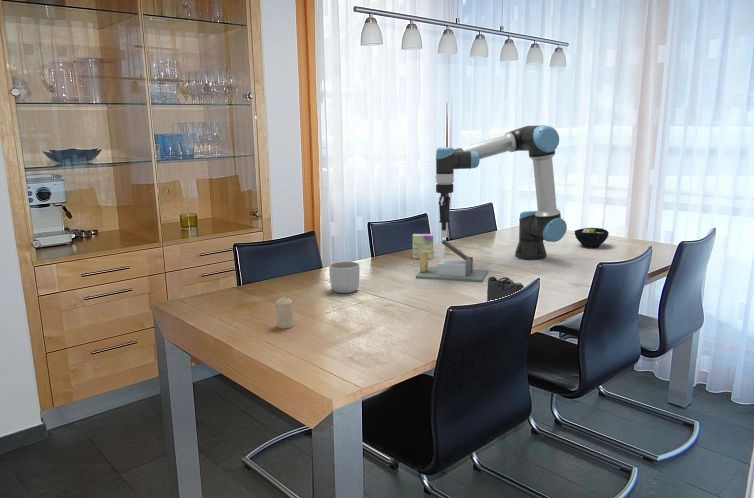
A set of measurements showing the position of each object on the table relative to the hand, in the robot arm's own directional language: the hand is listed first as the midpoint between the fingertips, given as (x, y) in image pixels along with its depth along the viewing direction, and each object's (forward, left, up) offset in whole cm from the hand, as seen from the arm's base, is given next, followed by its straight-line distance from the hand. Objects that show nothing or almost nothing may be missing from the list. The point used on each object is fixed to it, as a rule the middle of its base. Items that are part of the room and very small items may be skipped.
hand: (444, 237), depth 258 cm
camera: (-32, +35, -18) cm, 51 cm away
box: (+18, -32, -17) cm, 41 cm away
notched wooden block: (+8, 0, -16) cm, 18 cm away
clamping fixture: (-4, 0, -17) cm, 18 cm away
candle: (+38, +81, -17) cm, 91 cm away
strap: (-5, 0, -7) cm, 8 cm away
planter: (+34, +35, -17) cm, 52 cm away
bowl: (-63, -77, -17) cm, 101 cm away
